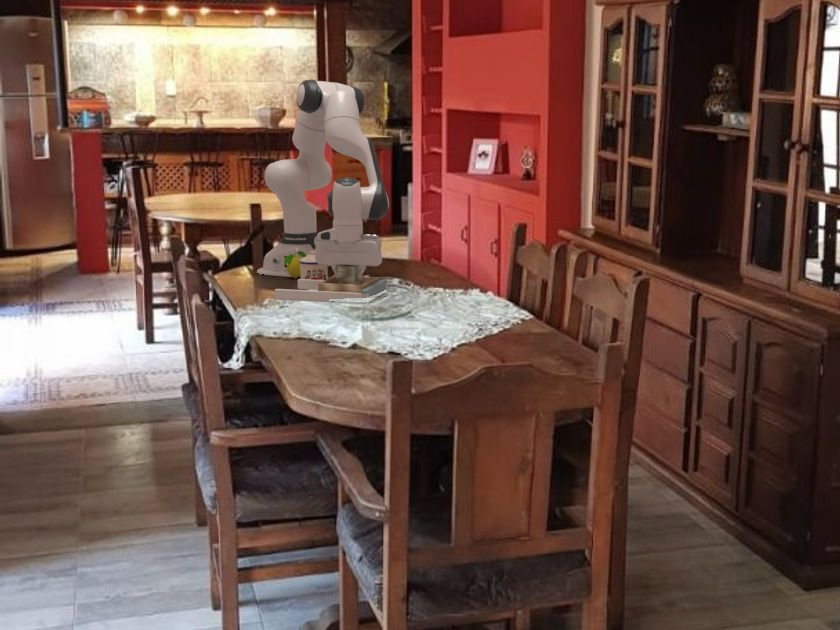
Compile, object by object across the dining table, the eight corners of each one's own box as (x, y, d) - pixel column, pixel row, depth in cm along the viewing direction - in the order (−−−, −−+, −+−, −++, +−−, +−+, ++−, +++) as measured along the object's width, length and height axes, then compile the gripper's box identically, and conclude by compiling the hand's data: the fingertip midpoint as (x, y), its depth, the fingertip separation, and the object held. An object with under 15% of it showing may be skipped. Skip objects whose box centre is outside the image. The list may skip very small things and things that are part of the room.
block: (338, 289, 320) (337, 266, 319) (344, 286, 325) (343, 263, 324) (354, 290, 319) (353, 266, 317) (359, 287, 324) (359, 264, 322)
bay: (274, 303, 319) (274, 286, 318) (299, 291, 337) (299, 275, 336) (367, 307, 311) (366, 290, 310) (387, 295, 329) (387, 279, 328)
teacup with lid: (302, 290, 338) (301, 254, 336) (297, 285, 347) (296, 250, 345) (340, 288, 342) (339, 252, 339) (334, 283, 350) (333, 248, 348)
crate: (318, 299, 318) (318, 283, 317) (335, 291, 331) (335, 275, 330) (363, 301, 314) (363, 285, 313) (379, 293, 327) (378, 277, 326)
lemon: (308, 277, 363) (307, 247, 361) (303, 280, 357) (302, 250, 355) (288, 277, 364) (287, 247, 361) (284, 280, 358) (283, 250, 356)
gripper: (384, 233, 319) (385, 279, 321) (320, 231, 324) (321, 276, 327) (377, 236, 313) (378, 283, 316) (312, 234, 318) (313, 280, 321)
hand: (349, 279), depth 321 cm, fingers closed on block, 5 cm apart
